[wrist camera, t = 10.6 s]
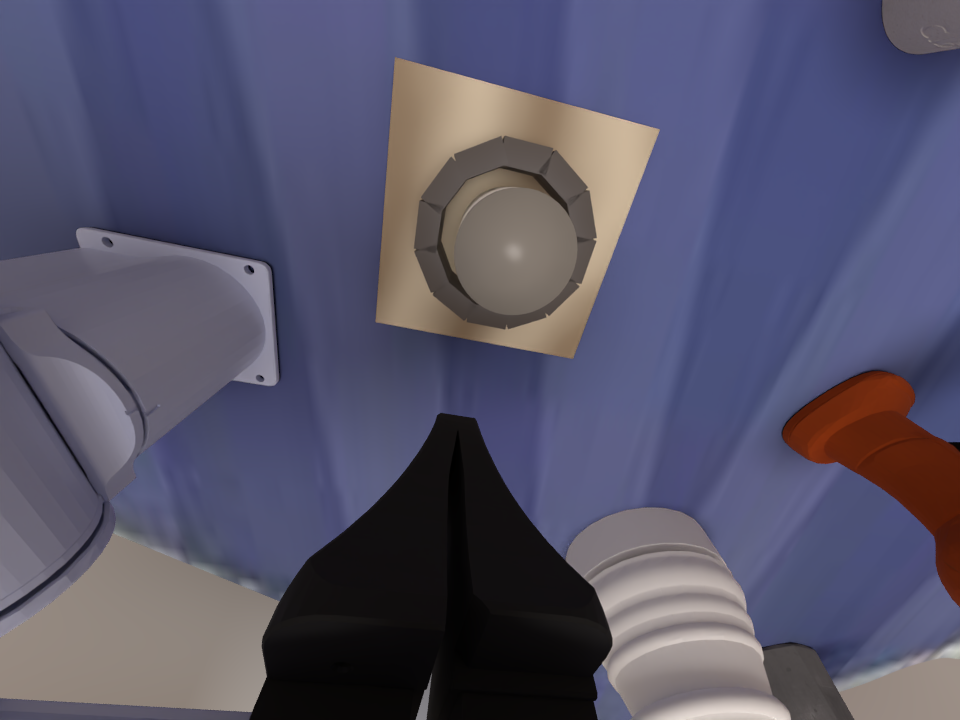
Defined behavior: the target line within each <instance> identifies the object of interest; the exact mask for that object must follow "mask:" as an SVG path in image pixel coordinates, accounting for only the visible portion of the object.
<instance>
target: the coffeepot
mask: <svg viewBox="0 0 960 720" xmlns="http://www.w3.org/2000/svg"><path fill="white" fill-rule="evenodd" d="M762 651H763V655H764V661H763V664H764V668H765V671H766V674H767V678H768V681H769V684H770V688H771V691H772V695H773V696H774V697H776V698H777V699H778V700H779V701H780V702H782V703H783V704H784V705H785V706H786V708H787V709H788V711H789V713H790V717H791V720H854V718H853V717H852V715H851V713H850V711H849V710H848V708H847V706H846V704H845V702H844V701H843V699H842V697H841V695H840V694H839V692H838V690H837V688H836V687H835V685H834V683H833V681H832V679H831V678H830V676H829V674H828V672H827V671H826V669H825V667H824V665H823V664H822V662H821V660H820V658H819V656H818V655H817V653H816V651H815V650H813V649H811V648H809V647H807V646H804V645H801V644H791V643H790V644H779V645H773V646H769V647H765V648H762Z"/></svg>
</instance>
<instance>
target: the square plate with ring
mask: <svg viewBox="0 0 960 720" xmlns="http://www.w3.org/2000/svg"><path fill="white" fill-rule="evenodd" d="M658 133H659V129H656V128H652V127H649V126H645V125H641V124H638V123H634V122H630V121H627V120H623V119H619V118H616V117H612V116H608V115H605V114H601V113H597V112H594V111H590V110H586V109H583V108H579V107H575V106H572V105H568V104H564V103H561V102H557V101H553V100H550V99H546V98H542V97H539V96H535V95H531V94H528V93H524V92H520V91H517V90H513V89H509V88H506V87H502V86H498V85H495V84H491V83H487V82H484V81H480V80H476V79H473V78H469V77H465V76H462V75H458V74H454V73H451V72H447V71H444V70H440V69H436V68H433V67H429V66H425V65H422V64H418V63H414V62H411V61H407V60H403V59H400V58H396V57H395V65H394V79H393V92H392V106H391V119H390V133H389V147H388V160H387V174H386V187H385V201H384V214H383V228H382V242H381V255H380V269H379V282H378V296H377V309H376V322H378V323H383V324H389V325H394V326H399V327H405V328H410V329H415V330H421V331H426V332H432V333H437V334H442V335H448V336H453V337H459V338H464V339H469V340H475V341H480V342H486V343H491V344H496V345H502V346H507V347H512V348H518V349H523V350H529V351H534V352H539V353H545V354H550V355H556V356H561V357H566V358H572V359H573V357H574V354H575V352H576V349H577V346H578V344H579V341H580V339H581V336H582V333H583V331H584V328H585V325H586V323H587V320H588V317H589V315H590V312H591V310H592V307H593V304H594V302H595V299H596V296H597V294H598V291H599V288H600V286H601V283H602V281H603V278H604V275H605V273H606V270H607V267H608V265H609V262H610V260H611V257H612V254H613V252H614V249H615V246H616V244H617V241H618V238H619V236H620V233H621V231H622V228H623V225H624V223H625V220H626V217H627V215H628V212H629V209H630V207H631V204H632V202H633V199H634V196H635V194H636V191H637V188H638V186H639V183H640V180H641V178H642V175H643V173H644V170H645V167H646V165H647V162H648V159H649V157H650V154H651V151H652V149H653V146H654V144H655V141H656V138H657V136H658ZM496 187H521V188H530V189H534V190H537V191H540V192H542V193H545V194H547V195H548V196H550V197H551V198H553V199H554V200H555V201H557V202H558V203H559V204H560V205H561V206H562V207H563V208H564V210H565V211H566V212H567V214H568V215H569V217H570V219H571V221H572V223H573V225H574V229H575V232H576V237H577V249H578V251H577V260H576V264H575V268H574V271H573V273H572V276H571V278H570V280H569V282H568V283H567V285H566V286H565V288H564V289H563V290H562V292H561V293H560V294H559V295H558V296H557V297H556V298H555V299H554V300H553V301H551V302H550V303H549V304H547V305H546V306H544V307H542V308H540V309H538V310H536V311H533V312H530V313H527V314H521V315H503V314H499V313H495V312H492V311H489V310H488V309H486V308H484V307H482V306H480V305H479V304H478V303H476V302H475V301H474V300H473V299H472V298H471V297H470V296H469V295H468V294H467V293H466V291H465V290H464V288H463V287H462V285H461V283H460V281H459V278H458V275H457V272H456V268H455V263H454V246H455V241H456V237H457V233H458V230H459V227H460V223H461V220H462V217H463V214H464V212H465V210H466V209H467V207H468V206H469V204H470V203H471V202H472V201H473V200H474V199H475V198H476V197H477V196H478V195H480V194H481V193H483V192H485V191H487V190H489V189H492V188H496Z"/></svg>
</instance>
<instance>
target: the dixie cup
mask: <svg viewBox="0 0 960 720" xmlns="http://www.w3.org/2000/svg"><path fill="white" fill-rule="evenodd" d="M882 18H883V25H884V28H885V31H886V34H887V36H888V38H889V40H890V41H891V42H892V43H893V45H894V46H896V47H897V48H898V49H900V50H902V51H904V52H906V53H910V54H927V53H933V52H940V51H946V50H952V49H957V48H960V0H883V1H882Z"/></svg>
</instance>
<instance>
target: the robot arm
mask: <svg viewBox="0 0 960 720" xmlns="http://www.w3.org/2000/svg"><path fill="white" fill-rule="evenodd" d="M76 236H77V239H78V243H79V246H80V248H76V249H70V250H64V251H58V252H51V253H45V254H39V255H33V256H27V257H21V258H14V259H8V260H2V261H0V637H2V636H3V635H5V634H6V633H8V632H9V631H11V630H13V629H14V628H16V627H17V626H19V625H20V624H22V623H24V622H25V621H27V620H28V619H29V618H31V617H32V616H34V615H35V614H36V613H38V612H39V611H40V610H42V609H43V608H44V607H46V606H47V605H48V604H50V603H51V602H53V601H54V600H55V599H56V598H57V597H58V596H59V595H61V594H62V593H63V592H64V591H66V590H67V589H68V588H69V587H70V586H71V585H72V584H73V583H74V582H75V581H77V580H78V578H79V577H81V575H83V574H84V573H85V572H86V571H87V569H89V567H90V566H91V565H92V564H93V563H94V561H95V560H96V559H97V558H98V557H99V555H100V554H101V553H102V551H103V550H104V548H105V547H106V545H107V544H108V542H109V540H110V538H111V536H112V533H113V531H114V527H115V521H116V516H115V511H114V508H113V506H112V505H111V503H110V502H109V501H110V500H111V499H112V498H113V497H114V496H116V495H117V494H118V493H119V492H120V491H121V490H122V489H124V488H125V487H126V486H127V485H128V484H129V483H131V482H132V481H133V480H134V479H135V478H136V475H135V473H134V470H133V462H134V460H135V458H136V457H138V456H139V455H140V454H141V453H143V452H144V451H145V450H146V449H148V448H149V447H150V446H151V445H152V444H154V443H155V442H156V441H157V440H159V439H160V438H161V437H162V436H164V435H165V434H166V433H167V432H168V431H170V430H171V429H172V428H173V427H175V426H176V425H177V424H178V423H180V422H181V421H182V420H183V419H185V418H186V417H187V416H188V415H189V414H191V413H192V412H193V411H194V410H196V409H197V408H198V407H199V406H201V405H202V404H203V403H204V402H205V401H207V400H208V399H209V398H210V397H212V396H213V395H214V394H215V393H217V392H218V391H219V390H220V389H221V388H223V387H224V386H225V385H226V384H228V383H229V382H230V381H231V380H235V381H241V382H247V383H254V384H260V385H266V386H274V385H275V384H276V383H277V382H278V381H279V368H278V354H277V340H276V326H275V312H274V298H273V284H272V272H271V268H270V267H269V265H267V264H266V263H265V262H262V261H257V260H252V259H247V258H242V257H237V256H232V255H227V254H222V253H217V252H212V251H207V250H202V249H197V248H192V247H187V246H182V245H177V244H172V243H167V242H161V241H156V240H151V239H146V238H141V237H136V236H131V235H126V234H121V233H116V232H111V231H106V230H101V229H96V228H91V227H84V228H79V229H77V231H76ZM109 239H110V240H111V241H112V242H113V245H112V244H111V243H110V241H109ZM248 265H250V266H252V267H253V269H254V273H252V272H251V271H250V270H249V268H248ZM259 375H261V376H263V377H264V379H263V378H261V377H260V376H259ZM612 646H613V638H612V635H611V631H610V628H609V625H608V622H607V618H606V616H605V613H604V610H603V608H602V605H601V603H600V600H599V598H598V596H597V593H596V591H595V588H594V587H593V586H592V585H591V584H589V583H588V582H587V581H586V580H585V579H584V578H583V577H582V576H581V575H580V574H579V573H578V572H577V571H576V570H575V569H574V568H573V567H571V566H570V565H569V564H568V563H567V562H566V561H565V560H564V559H563V558H562V557H561V556H560V555H559V553H558V552H557V551H556V550H555V549H554V548H553V547H552V546H551V545H550V544H549V543H548V542H547V540H546V539H545V538H544V537H543V536H542V534H541V533H540V532H539V531H538V530H537V528H536V527H535V526H534V525H533V524H532V522H531V521H530V520H529V518H528V517H527V516H526V514H525V513H524V512H523V510H522V509H521V508H520V506H519V505H518V503H517V502H516V500H515V499H514V497H513V496H512V494H511V493H510V491H509V489H508V488H507V486H506V484H505V483H504V481H503V479H502V477H501V476H500V474H499V472H498V470H497V468H496V466H495V464H494V462H493V460H492V458H491V456H490V454H489V452H488V449H487V447H486V445H485V442H484V440H483V438H482V435H481V432H480V429H479V426H478V423H477V421H476V419H475V418H470V417H463V416H457V415H451V414H444V413H440V414H438V415H437V418H436V421H435V424H434V426H433V428H432V430H431V432H430V434H429V436H428V438H427V439H426V441H425V443H424V444H423V446H422V448H421V449H420V451H419V452H418V454H417V455H416V456H415V458H414V459H413V461H412V462H411V463H410V465H409V466H408V467H407V469H406V470H405V471H404V472H403V474H402V475H401V476H400V477H399V479H398V480H397V481H396V482H395V483H394V484H393V485H392V487H391V488H390V489H389V490H388V491H387V492H386V493H385V494H384V495H383V496H382V497H381V498H380V499H379V500H378V501H377V502H376V503H375V504H374V505H373V506H372V507H371V508H370V509H369V510H368V511H367V512H366V513H365V514H363V515H362V516H361V517H360V518H359V519H358V520H357V521H355V522H354V523H353V524H352V525H351V526H350V527H349V528H347V529H346V530H345V531H344V532H343V533H341V534H340V535H339V536H338V537H336V538H335V539H334V540H332V541H331V542H330V543H328V544H327V545H326V546H324V547H323V548H322V549H320V550H319V551H318V552H316V553H315V554H314V555H312V556H311V557H310V558H309V559H308V560H307V561H306V562H305V564H304V565H303V567H302V568H301V569H300V571H299V572H298V573H297V575H296V576H295V578H294V579H293V581H292V582H291V584H290V585H289V587H288V588H287V590H286V592H285V593H284V595H283V597H282V598H281V600H280V602H279V604H278V606H277V608H276V610H275V612H274V614H273V616H272V619H271V620H270V623H269V625H268V627H267V629H266V631H265V634H264V636H263V639H262V651H263V657H264V662H265V668H266V674H267V678H266V680H265V683H264V685H263V687H262V690H261V692H260V695H259V697H258V700H257V702H256V704H255V706H254V709H253V712H237V711H219V710H200V709H181V708H165V707H147V706H128V705H111V704H92V703H75V702H57V701H55V702H54V701H37V700H21V699H3V698H2V699H1V698H0V720H416V716H417V713H418V710H419V707H420V703H421V700H422V696H423V694H424V690H426V689H427V686H428V683H429V680H430V676H431V673H432V678H431V687H430V695H429V703H428V712H427V720H598V719H597V714H596V710H595V706H594V702H593V701H595V700H596V699H597V690H596V686H595V681H594V677H593V674H594V673H595V671H596V670H597V669H598V668H599V666H600V665H601V664H602V663H603V661H604V660H605V659H606V657H607V656H608V654H609V652H610V650H611V648H612Z"/></svg>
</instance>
